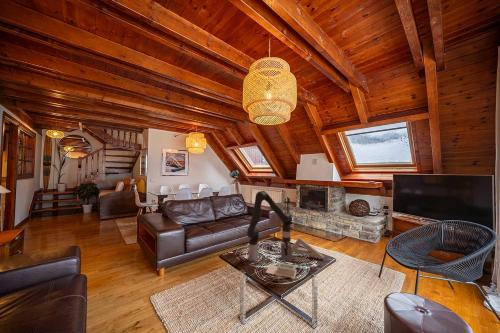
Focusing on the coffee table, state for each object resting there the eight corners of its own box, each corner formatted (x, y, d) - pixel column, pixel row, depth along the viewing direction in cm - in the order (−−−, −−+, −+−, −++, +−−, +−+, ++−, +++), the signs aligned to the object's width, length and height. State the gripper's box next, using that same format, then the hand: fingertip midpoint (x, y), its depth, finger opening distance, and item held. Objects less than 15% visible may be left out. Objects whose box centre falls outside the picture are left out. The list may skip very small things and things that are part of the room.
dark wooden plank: (291, 259, 177) (291, 244, 177) (291, 261, 175) (291, 245, 174) (281, 257, 181) (281, 243, 180) (281, 259, 178) (281, 244, 177)
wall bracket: (310, 273, 206) (287, 253, 214) (311, 270, 210) (288, 251, 218) (323, 258, 202) (299, 238, 209) (323, 256, 206) (299, 237, 213)
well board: (265, 273, 178) (265, 266, 178) (269, 265, 191) (269, 259, 191) (294, 279, 168) (294, 272, 168) (296, 270, 182) (296, 264, 181)
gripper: (289, 239, 169) (289, 258, 170) (291, 233, 182) (291, 251, 183) (280, 237, 172) (280, 257, 172) (283, 232, 185) (283, 250, 185)
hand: (286, 254), depth 177 cm, fingers closed on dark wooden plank, 3 cm apart
